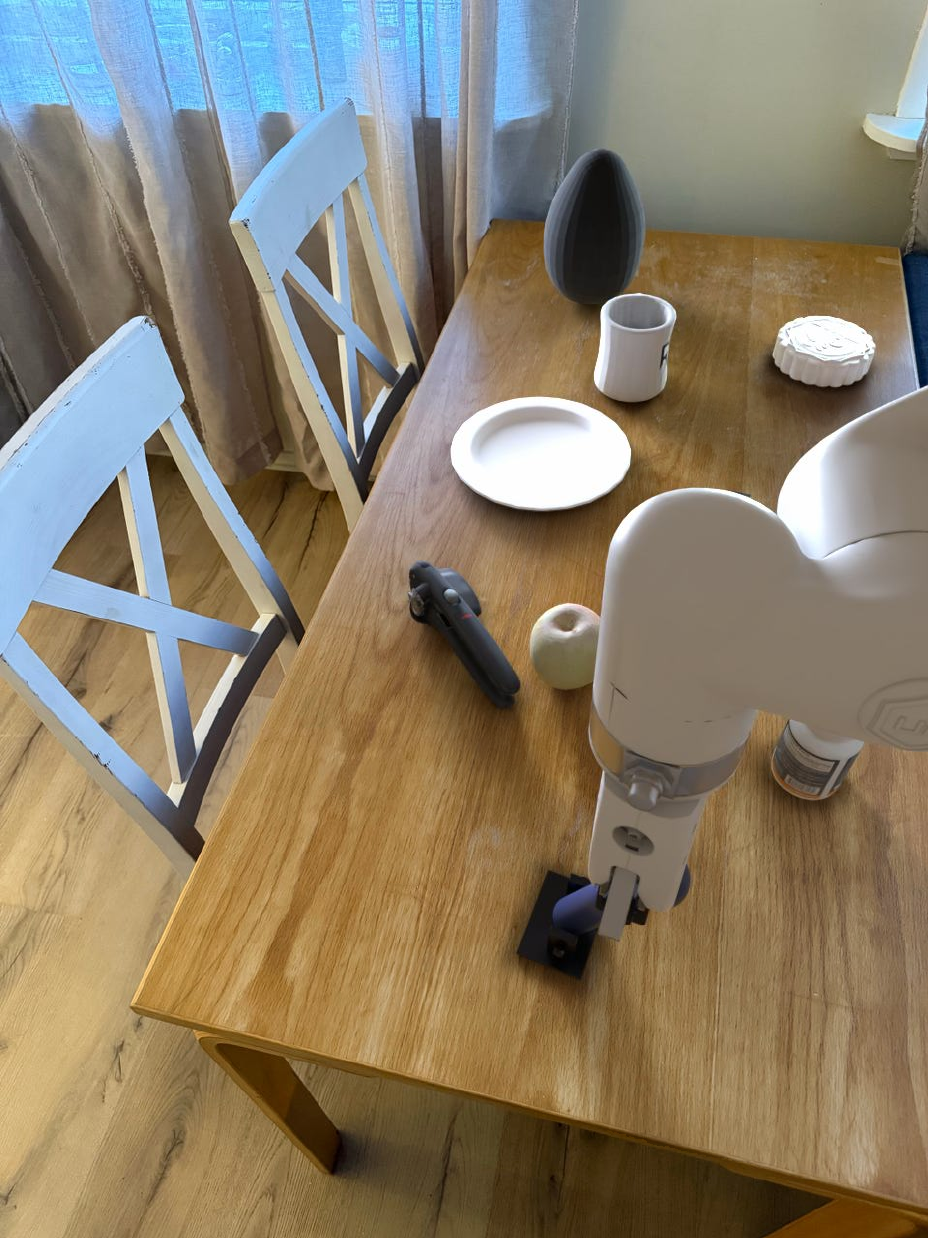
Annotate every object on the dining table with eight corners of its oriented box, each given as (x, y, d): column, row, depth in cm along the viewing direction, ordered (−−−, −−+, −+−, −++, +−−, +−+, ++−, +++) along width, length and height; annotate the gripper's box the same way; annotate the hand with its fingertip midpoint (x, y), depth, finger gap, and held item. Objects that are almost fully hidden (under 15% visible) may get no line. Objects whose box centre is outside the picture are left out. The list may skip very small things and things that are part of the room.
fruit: (612, 701, 78) (621, 646, 72) (531, 704, 79) (534, 649, 72) (602, 637, 83) (610, 580, 77) (526, 639, 83) (528, 582, 77)
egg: (529, 282, 128) (533, 137, 113) (616, 268, 130) (631, 123, 115) (559, 329, 119) (568, 179, 104) (651, 314, 121) (673, 164, 106)
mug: (665, 407, 107) (677, 334, 99) (591, 402, 108) (598, 330, 101) (665, 352, 115) (677, 281, 107) (596, 348, 116) (603, 277, 109)
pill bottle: (811, 736, 75) (846, 666, 68) (853, 790, 72) (895, 723, 64) (755, 757, 74) (784, 689, 67) (795, 813, 71) (831, 747, 63)
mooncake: (753, 360, 113) (759, 335, 110) (807, 326, 118) (814, 301, 115) (833, 400, 107) (842, 374, 104) (886, 362, 112) (896, 337, 109)
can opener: (393, 600, 87) (388, 561, 83) (454, 575, 89) (452, 536, 85) (477, 729, 77) (475, 692, 73) (544, 698, 79) (546, 660, 75)
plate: (427, 501, 97) (426, 489, 96) (479, 395, 110) (479, 384, 108) (611, 536, 92) (612, 524, 91) (643, 421, 105) (645, 409, 104)
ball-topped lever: (710, 857, 54) (656, 824, 53) (694, 915, 51) (638, 881, 51) (593, 909, 66) (549, 882, 66) (577, 958, 64) (531, 930, 63)
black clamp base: (609, 894, 67) (613, 875, 64) (580, 981, 63) (584, 964, 60) (548, 871, 68) (550, 851, 65) (516, 954, 64) (516, 936, 61)
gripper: (706, 902, 36) (654, 1031, 50) (777, 617, 46) (717, 791, 60) (536, 841, 38) (531, 981, 52) (639, 581, 48) (612, 757, 62)
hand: (631, 878), depth 56 cm, fingers closed on ball-topped lever, 4 cm apart
